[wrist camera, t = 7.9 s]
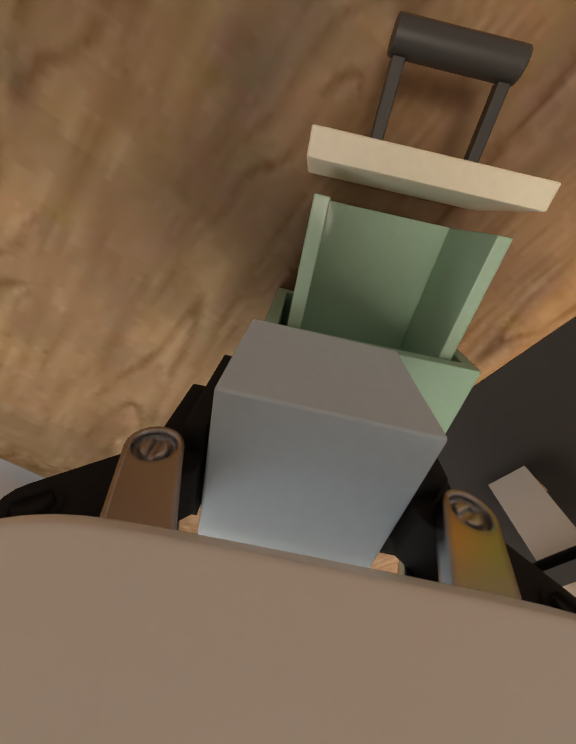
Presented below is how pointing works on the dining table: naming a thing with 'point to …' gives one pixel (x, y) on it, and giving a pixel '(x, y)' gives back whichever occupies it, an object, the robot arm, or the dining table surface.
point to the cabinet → (413, 369)
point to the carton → (314, 445)
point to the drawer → (404, 235)
